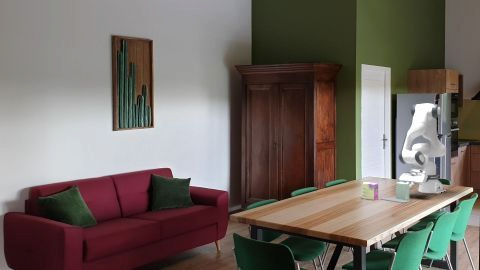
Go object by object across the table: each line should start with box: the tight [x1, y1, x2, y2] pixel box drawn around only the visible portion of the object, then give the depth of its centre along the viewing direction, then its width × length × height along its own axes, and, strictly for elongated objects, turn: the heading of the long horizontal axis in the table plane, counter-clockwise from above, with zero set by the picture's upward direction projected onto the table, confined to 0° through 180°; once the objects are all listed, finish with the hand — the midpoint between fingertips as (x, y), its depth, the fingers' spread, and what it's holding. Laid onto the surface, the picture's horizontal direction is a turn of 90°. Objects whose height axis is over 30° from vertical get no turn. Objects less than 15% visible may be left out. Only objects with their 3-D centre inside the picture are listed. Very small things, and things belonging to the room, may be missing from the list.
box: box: [361, 181, 379, 201], centre depth 387 cm, size 10×6×12 cm, turn 41°
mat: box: [380, 196, 412, 204], centre depth 380 cm, size 10×20×1 cm, turn 37°
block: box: [395, 181, 410, 201], centre depth 384 cm, size 5×8×12 cm, turn 37°
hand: (408, 187), depth 386 cm, fingers closed
